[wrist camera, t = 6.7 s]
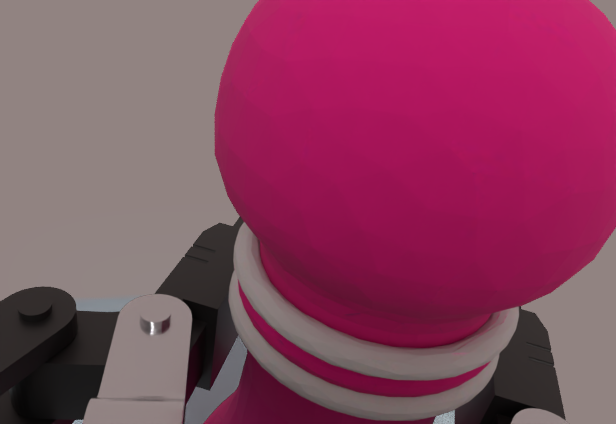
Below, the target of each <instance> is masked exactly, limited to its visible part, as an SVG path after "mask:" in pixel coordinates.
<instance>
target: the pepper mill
mask: <svg viewBox="0 0 616 424" xmlns="http://www.w3.org/2000/svg"><path fill="white" fill-rule="evenodd" d="M215 156H216V159H217V163H218V166H219V169H220V172H221V176H222V179H223V182H224V185H225V189H226V192H227V195H228V197H229V199H230V201H231V202H232V204H233V206H234V207H235V209H236V211H237V213H238V214H239V215H240V217H241V218H242V219H243V221H244V223H243V224H242V226H241V227H240V229H239V232H238V235H237V238H236V242H235V246H234V258H233V262H234V269H235V270H234V272H233V274H232V278H231V282H230V286H229V300H228V301H229V306H230V311H231V316H232V320H233V322H234V325H235V328H236V331H237V333H238V335H239V337H240V338H241V340H242V342H243V343H244V345H245V347H246V348H247V356H246V360H245V364H244V368H243V371H242V375H241V379H240V383H239V386H238V388H237V390H236V391H235V392H234V393H233V394H231V395H230V396H229V397H228V398H227V399H226V400H225V401H224V402H223V403H221V404H220V405H219V406H218V407H217V408H216V410H215V411H214V412H213V413H212V414H211V415H210V416H209V417H208V419H207V420H206V421H205V422H204V423H203V424H433V422H434V419H435V417H436V416H437V415H441V414H444V413H447V412H450V411H453V410H455V409H457V408H458V407H460V406H462V405H464V404H466V403H467V402H469V401H470V400H472V399H473V398H474V397H475V396H476V395H477V394H478V393H479V392H480V391H482V390H483V389H484V387H485V386H486V385H487V384H488V382H489V381H490V379H491V377H492V375H493V373H494V371H495V369H496V367H497V363H498V359H499V353H500V352H501V351H502V350H503V349H504V348H505V347H506V346H507V345H508V343H509V341H510V340H511V338H512V336H513V334H514V332H515V330H516V327H517V323H518V318H519V306H522V305H524V304H527V303H529V302H531V301H533V300H536V299H538V298H540V297H542V296H545V295H547V294H549V293H551V292H552V291H554V290H555V289H556V288H558V287H559V286H560V285H561V284H563V283H564V282H566V281H567V280H568V279H570V278H571V277H572V276H573V275H575V274H576V273H577V272H579V271H580V270H581V269H582V268H583V267H585V266H586V265H587V264H588V263H590V262H591V261H592V260H594V258H595V257H596V255H597V254H598V252H599V251H600V249H601V248H602V247H603V245H604V243H605V242H606V241H607V239H608V238H609V236H610V235H611V233H612V232H613V231H614V229H615V227H616V30H615V28H614V27H613V26H612V24H611V23H610V22H609V21H608V19H607V17H606V16H605V15H604V13H602V12H601V11H600V10H599V9H598V8H597V7H596V6H595V5H594V4H592V3H591V2H590V1H589V0H259V1H258V2H257V3H256V5H255V6H254V8H253V9H252V11H251V12H250V14H249V15H248V17H247V18H246V20H245V22H244V24H243V25H242V27H241V29H240V31H239V33H238V35H237V37H236V38H235V40H234V42H233V44H232V47H231V50H230V53H229V55H228V58H227V61H226V65H225V67H224V71H223V73H222V76H221V82H220V86H219V93H218V98H217V104H216V110H215Z"/></svg>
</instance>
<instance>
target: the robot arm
mask: <svg viewBox="0 0 616 424" xmlns="http://www.w3.org/2000/svg"><path fill="white" fill-rule="evenodd" d="M243 223H244V221H243V219H242V218H241V217H239V219H238V220H237V222H236V223H235V224H234V226H229V225H226V224H222V223H218V224H217V225H215V226H213V227H211V228H209V229H207V230H205V231H203V232H202V234H201V235H200V236H199V237H198V239H197V240H196V241H195V243H194V244H193V247H191V248H190V249H189V250H188V252H187V253H186V254H185V257H183V258H182V259H181V261H180V262H179V263H178V265H177V266H176V267H175V268H174V270H173V271H172V272H171V273H170V275H169V276H168V277H167V278H166V280H165V281H164V282H163V284H162V285H161V286H160V287H159V289H158V290H157V291H156V293H155V294H150V295H145V296H141V297H138V298H136V299H134V300H132V301H130V302H129V303H127V304H126V305H125V306H124V307H123V308H122V310H121V311H120V312H91V311H76V303H75V301H74V299H73V297H72V296H71V295H70V294H68V293H67V292H65V291H63V290H61V289H57V288H52V287H34V288H29V289H25V290H21V291H19V292H16V293H14V294H12V295H10V296H9V297H7V298H5V299H4V300H2V301H0V424H72V423H73V422H74V421H75V420H83V423H82V424H184V423H185V412H186V404H187V402H188V400H189V398H190V396H191V395H192V393H193V391H194V389H195V387H196V386H197V387H200V388H203V389H206V390H209V391H210V389H211V387H212V385H213V383H214V381H215V379H216V377H217V375H218V373H219V371H220V369H221V368H222V366H223V364H224V362H225V360H226V358H227V356H228V354H229V352H230V350H231V348H232V346H233V344H234V342H235V340H236V338H237V336H238V333H237V331H236V328H235V325H234V322H233V320H232V316H231V311H230V306H229V301H228V300H229V286H230V282H231V278H232V274H233V272H234V270H235V269H234V262H233V258H234V246H235V242H236V238H237V235H238V232H239V229H240V227H241V226H242V224H243ZM553 366H554V361H553V356H552V353H551V346H550V342H549V336H548V331H547V330H546V328H545V327H544V326H543V324H542V323H541V321H540V320H539V318H538V317H537V316H536V314H535V313H532V312H529V311H525V310H522V309H521V306H519V318H518V323H517V327H516V330H515V332H514V334H513V336H512V338H511V340H510V341H509V343H508V345H507V346H506V347H505V348H504V349H503V350H502V351H501V352H500V353H499V359H498V363H497V367H496V369H495V371H494V373H493V375H492V377H491V379H490V381H489V382H488V384H487V385H486V386H485V387H484V389H483V390H482V391H480V392H479V393H478V394H477V395H476V396H475V397H474V398H473V399H472V400H470V401H469V402H467V403H466V404H464V405H462V406H460V407H458V408H457V409H455V424H569V423H568V422H567V421H566V420H565V414H564V410H563V405H562V400H561V395H560V390H559V385H558V380H557V376H556V371H555V368H554V367H553Z"/></svg>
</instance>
